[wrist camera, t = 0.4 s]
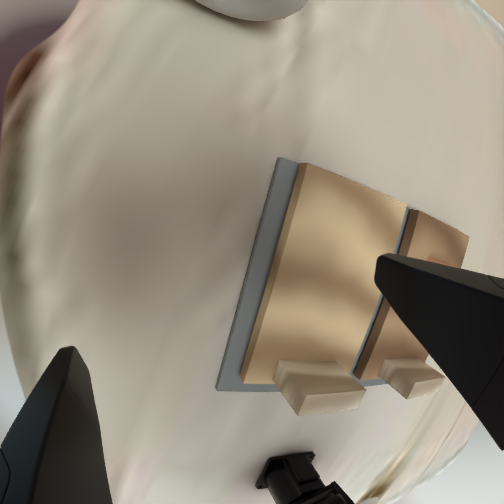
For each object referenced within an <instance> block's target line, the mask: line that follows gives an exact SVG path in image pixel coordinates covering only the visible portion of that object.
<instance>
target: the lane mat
mask: <svg viewBox="0 0 504 504" xmlns="http://www.w3.org/2000/svg"><path fill="white" fill-rule="evenodd" d="M299 165H300V164H298V163H295V162H292V161H290V160H287V159H284V158H281V157H280V158H278V160H277V163H276V167H275V171H274V174H273V178H272V182H271V185H270V189H269V193H268V196H267V200H266V204H265V207H264V211H263V215H262V218H261V222H260V226H259V230H258V233H257V237H256V241H255V244H254V248H253V252H252V255H251V259H250V263H249V266H248V270H247V274H246V277H245V281H244V285H243V288H242V292H241V296H240V300H239V303H238V307H237V311H236V314H235V318H234V322H233V325H232V329H231V333H230V336H229V340H228V344H227V347H226V351H225V355H224V358H223V362H222V366H221V369H220V373H219V377H218V380H217V384H216V390H217V391H238V392H280V390H279V389H278V387H277V386H276V384H244V383H243V382H242V380H241V378H240V376H239V375H240V372H241V369H242V365H243V362H244V359H245V355H246V352H247V349H248V345H249V342H250V339H251V335H252V332H253V329H254V325H255V322H256V319H257V315H258V312H259V308H260V305H261V301H262V298H263V295H264V291H265V288H266V284H267V281H268V277H269V274H270V270H271V267H272V263H273V260H274V256H275V253H276V249H277V246H278V242H279V238H280V235H281V231H282V228H283V224H284V220H285V217H286V213H287V210H288V206H289V202H290V199H291V195H292V191H293V187H294V184H295V180H296V176H297V173H298V169H299ZM410 210H411V209H408V208H406V210H405V214H404V218H403V222H402V225H401V229H400V233H399V236H398V240H397V243H396V247H395V250H394V254H398V253H399V250H400V247H401V243H402V240H403V236H404V233H405V229H406V225H407V221H408V218H409V214H410ZM383 299H384V296H383V295H382V293H381V294H380V297H379V300H378V302H377V305H376V308H375V311H374V313H373V316H372V319H371V321H370V324H369V327H368V329H367V332H366V334H365V337H364V339H363V342H362V344H361V347H360V349H359V352H358V354H357V356H356V359H355V361H354V363H353V366H352V368H351V370H350V373H349V374H350V375H351V376H352V377H353V378H354V379H355V380H356V381H357V382H358V383H359V384H361V385H362V386H372V385H381V384H388V383H386V382H385V381H384V380H383V379H382V378H380V379H370V380H359V379H358V378H356V377H355V376H354V375H353V374H354V372H355V370H356V368H357V365H358V363H359V361H360V358H361V356H362V354H363V351H364V349H365V347H366V344H367V342H368V339H369V337H370V334H371V332H372V329H373V326H374V324H375V321H376V319H377V316H378V313H379V311H380V308H381V305H382V302H383Z"/></svg>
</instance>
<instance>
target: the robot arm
mask: <svg viewBox="0 0 504 504" xmlns="http://www.w3.org/2000/svg"><path fill="white" fill-rule="evenodd" d="M374 282H375V285H376V286H377V288H378V289H379V290H380V292H381V293H382V295H383V296H384V297H385V299H386V300H387V302H388V303H389V304H390V306H391V307H392V309H393V310H394V311H395V313H396V314H397V316H398V317H399V318H400V320H401V321H402V322H403V323H404V325H405V326H406V327H407V328H408V329H409V330H410V332H411V333H412V334H413V335H414V336H415V338H416V339H417V340H418V341H419V342H420V344H421V345H422V346H423V347H424V348H425V350H426V351H427V352H428V353H429V355H430V356H431V357H432V358H433V359H434V361H435V362H436V363H437V364H438V366H439V367H440V368H441V369H442V371H443V372H444V373H445V374H446V376H447V377H448V378H449V380H450V381H451V382H452V383H453V385H454V386H455V387H456V389H457V390H458V391H459V393H460V394H461V395H462V396H463V398H464V399H465V400H466V402H467V403H468V404H469V406H470V407H471V408H472V410H473V412H474V413H475V414H476V416H477V417H478V418H479V420H480V421H481V422H482V424H483V425H484V427H485V428H486V429H487V431H488V432H489V434H490V435H491V437H492V438H493V439H494V441H495V442H496V444H497V445H498V447H499V448H500V449H501V450H504V279H503V278H498V277H494V276H490V275H485V274H481V273H477V272H473V271H469V270H465V269H460V268H456V267H452V266H447V265H443V264H439V263H434V262H430V261H425V260H421V259H416V258H412V257H407V256H403V255H398V254H393V253H386V254H383V255H380V256H379V257H378V258H377V261H376V268H375V274H374ZM314 457H315V454H314V452H310V453H304V454H297V455H290V456H282V457H274V458H270V459H269V460H268V462H267V464H266V466H265V468H264V470H263V472H262V474H261V476H260V478H259V480H258V482H257V484H256V488H257V489H263V488H268V489H269V491H270V493H271V495H272V497H273V499H274V500H275V502H276V504H354V502H353V501H352V500H351V499H350V498H349V496H348V495H347V494H346V493H345V492H344V491H343V490H342V489H341V488H340V486H339V485H338V484H337V483H336V482H335V481H334V482H332V483H331V484H329V485H328V486H325V485H324V484H323V482H322V481H321V479H320V478H319V477H320V476H319V474H318V473H317V471H316V470H315V468H314V467H313V465H312V464H311V462H312V460H313V459H314ZM0 504H113V503H112V498H111V494H110V489H109V484H108V478H107V473H106V467H105V460H104V454H103V447H102V439H101V431H100V425H99V420H98V415H97V410H96V405H95V400H94V395H93V390H92V384H91V378H90V373H89V370H88V368H87V366H86V364H85V362H84V361H83V359H82V357H81V355H80V354H79V352H78V350H77V349H76V347H74V346H68V347H64V348H61V349H59V351H58V352H57V353H56V355H55V356H54V358H53V359H52V361H51V362H50V364H49V365H48V367H47V368H46V370H45V372H44V373H43V375H42V376H41V378H40V379H39V381H38V382H37V384H36V386H35V387H34V389H33V390H32V392H31V394H30V395H29V397H28V398H27V400H26V402H25V403H24V405H23V407H22V409H21V410H20V412H19V414H18V415H17V417H16V419H15V421H14V422H13V424H12V426H11V428H10V429H9V431H8V433H7V435H6V437H5V438H4V440H3V442H2V444H1V448H0Z"/></svg>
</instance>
